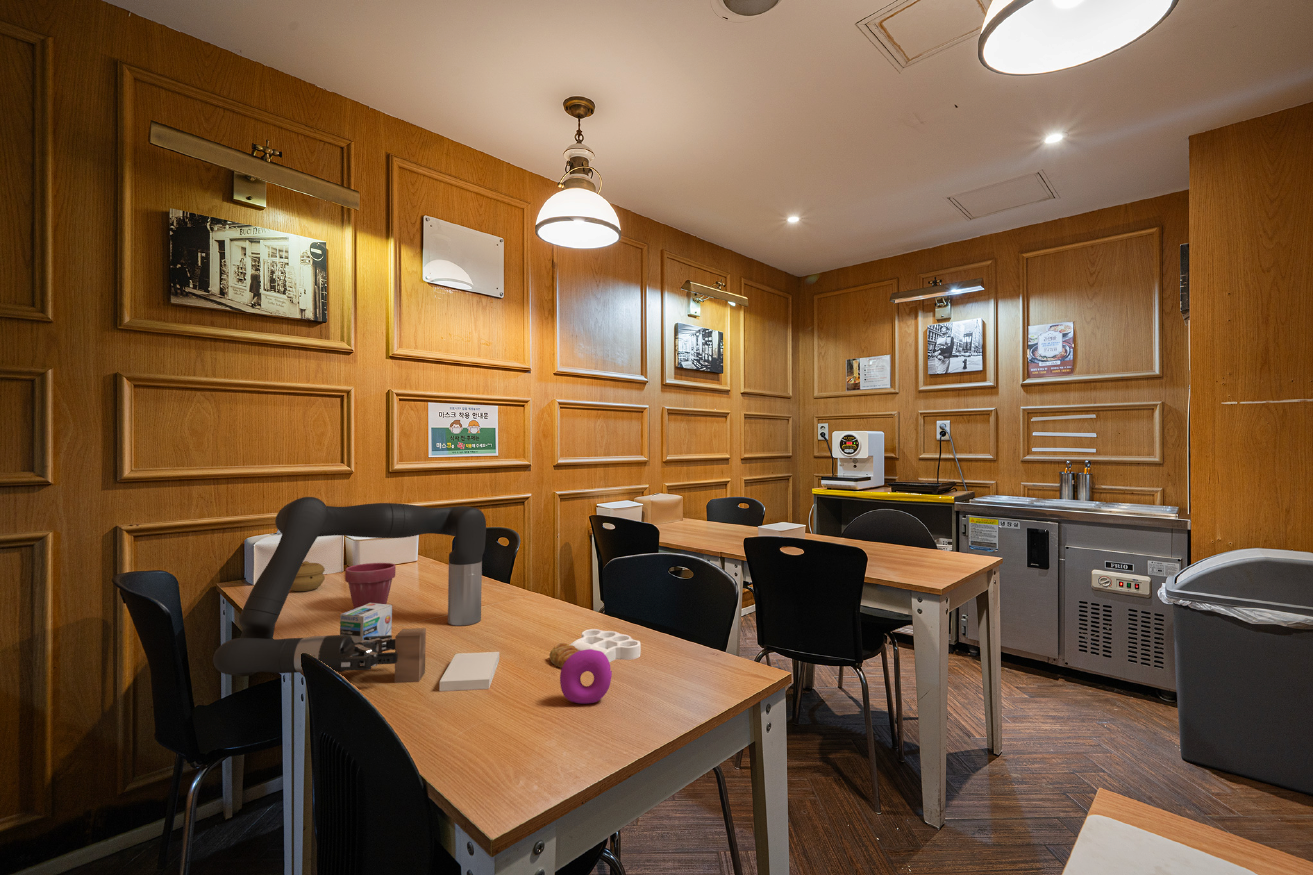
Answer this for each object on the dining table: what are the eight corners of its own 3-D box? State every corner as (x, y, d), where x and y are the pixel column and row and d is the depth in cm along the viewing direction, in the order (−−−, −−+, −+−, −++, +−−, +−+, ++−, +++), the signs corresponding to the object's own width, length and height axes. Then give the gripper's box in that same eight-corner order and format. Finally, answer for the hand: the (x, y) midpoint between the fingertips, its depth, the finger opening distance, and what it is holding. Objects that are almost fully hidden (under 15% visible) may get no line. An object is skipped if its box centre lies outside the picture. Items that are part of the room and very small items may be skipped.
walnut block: (401, 673, 126) (402, 628, 126) (425, 672, 126) (425, 627, 127) (394, 682, 121) (395, 636, 121) (418, 681, 121) (419, 635, 122)
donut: (591, 714, 107) (591, 661, 108) (554, 702, 112) (555, 652, 112) (615, 698, 114) (616, 649, 114) (580, 688, 119) (580, 640, 119)
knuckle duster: (559, 652, 141) (600, 637, 152) (612, 670, 130) (652, 652, 141) (559, 639, 141) (600, 624, 152) (612, 655, 130) (652, 639, 141)
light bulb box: (362, 662, 132) (363, 616, 132) (337, 659, 134) (338, 614, 134) (392, 646, 143) (393, 603, 143) (369, 644, 144) (370, 602, 144)
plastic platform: (455, 662, 133) (455, 653, 133) (499, 660, 134) (499, 651, 134) (439, 691, 117) (439, 681, 117) (489, 688, 118) (489, 679, 118)
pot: (276, 593, 193) (277, 563, 193) (303, 585, 204) (304, 557, 204) (306, 595, 191) (307, 565, 191) (332, 586, 202) (332, 558, 202)
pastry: (589, 667, 131) (589, 651, 131) (563, 674, 127) (563, 657, 127) (571, 655, 138) (571, 639, 138) (546, 661, 134) (546, 645, 134)
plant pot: (364, 600, 185) (365, 561, 185) (404, 602, 183) (404, 562, 183) (333, 612, 171) (334, 570, 171) (376, 614, 169) (377, 572, 169)
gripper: (309, 648, 114) (393, 644, 117) (338, 625, 128) (412, 623, 131) (308, 685, 114) (392, 681, 116) (337, 658, 128) (412, 655, 130)
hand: (403, 650), depth 124 cm, fingers open, 8 cm apart
